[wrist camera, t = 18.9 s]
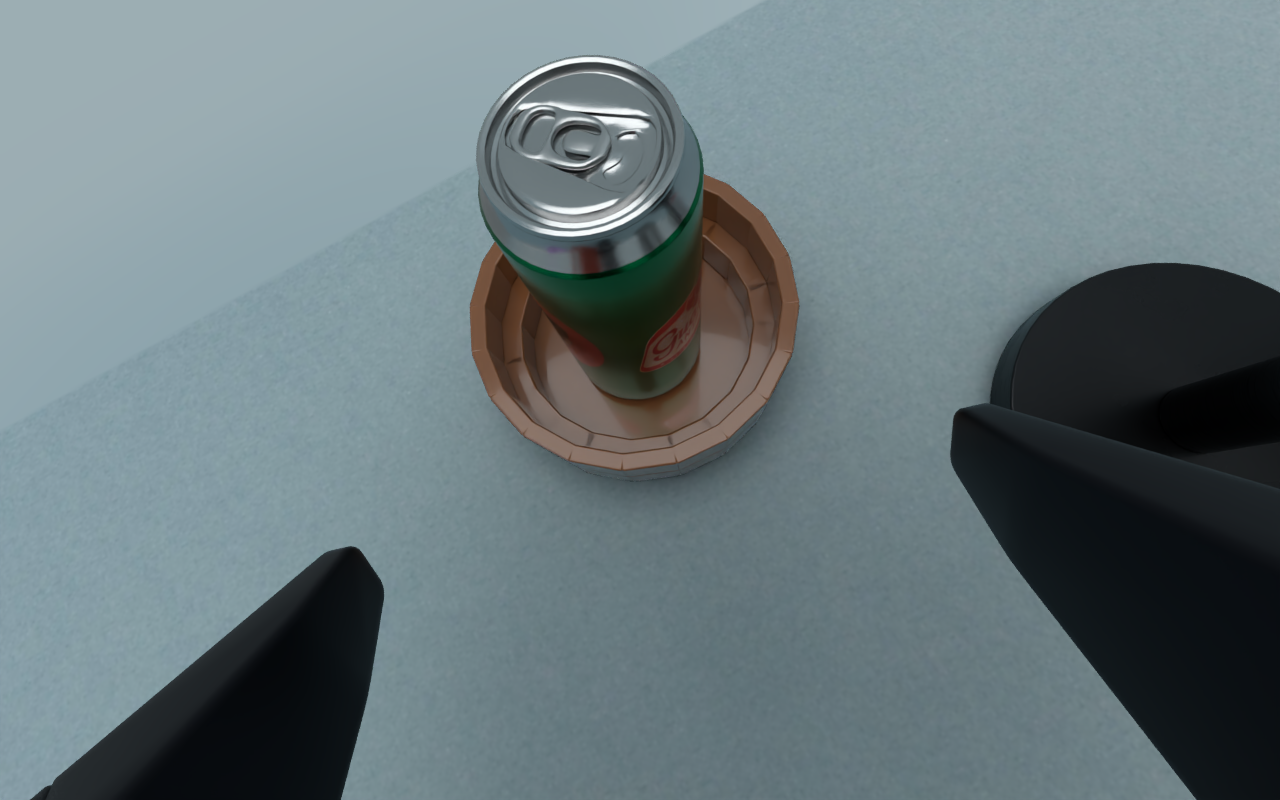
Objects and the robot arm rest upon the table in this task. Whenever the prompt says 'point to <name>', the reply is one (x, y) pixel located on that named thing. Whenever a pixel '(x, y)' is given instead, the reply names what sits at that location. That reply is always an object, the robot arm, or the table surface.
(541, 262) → the soda can
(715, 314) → the bowl
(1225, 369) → the desk lamp
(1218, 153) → the table surface
